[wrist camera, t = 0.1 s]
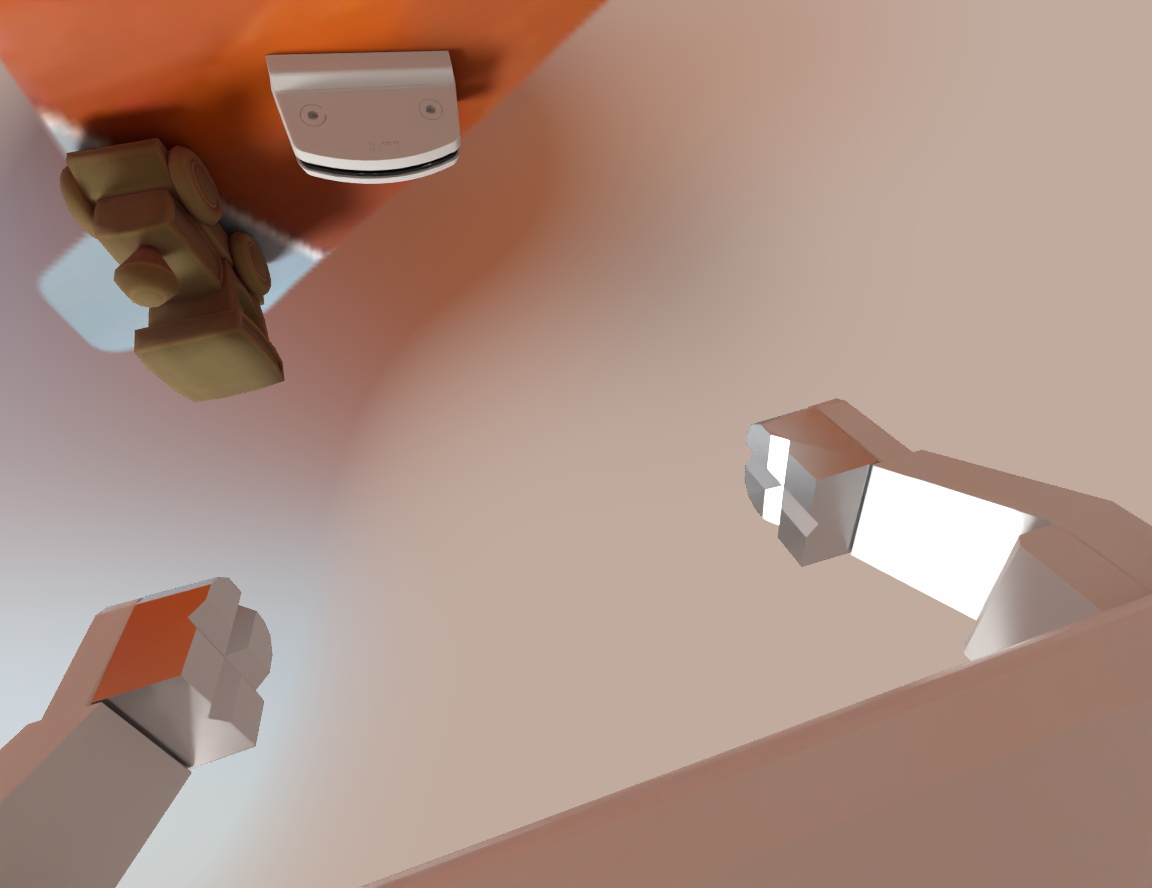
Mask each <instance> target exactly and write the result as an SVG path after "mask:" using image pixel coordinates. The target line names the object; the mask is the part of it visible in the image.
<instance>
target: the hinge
mask: <svg viewBox="0 0 1152 888" xmlns="http://www.w3.org/2000/svg"><path fill="white" fill-rule="evenodd" d="M266 61H267V66H268V71H269V75H270V84H271V91H272V94H273V96H274V99H275V102H276V105H277V107H278V110H279V113H280V115H281V118H282V121H283V124H284V126H285V129H286V132H287V135H288V137H289V140H290V143H291V146H292V148H293V151H294V153H295V156H296V158H297V161H298V163H299V165H300V166H301V167H302V168H303V169H304V171H305V172H306V173H307V174H309V175H311V176H315V177H319V178H323V179H329V180H334V181H340V182H349V183H363V184H378V183H392V182H400V181H406V180H411V179H416V178H420V177H423V176H426V175H430V174H433V173H435V172H438V171H440V170H443V169H445V168H447V167H449V166H452V165H454V164H455V163H456V161H457V159H458V157H459V154H460V143H461V140H460V127H459V116H458V105H457V95H456V84H455V79H454V74H453V69H452V64H451V60H450V56H449V52H448V51H412V52H370V53H327V54H285V55H266Z"/></svg>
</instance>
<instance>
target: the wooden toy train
mask: <svg viewBox="0 0 1152 888" xmlns="http://www.w3.org/2000/svg"><path fill="white" fill-rule="evenodd" d="M66 162H67V165H68V166H66V167H65V168H64V169H63V171H62V173H61V176H60V189H61V192H62V195H63V198H64V200H65V203H66V204H67V207H68V209H69V210H70V212H71V213H72V215H73V217H74V218H75V219H76V221H77V222H78V223H79V224H80V225H81V227H82V228H83V229H84V230H85V231H86V232H87V233H89V234H90V235H91V236H92V237H94V238H96V239H98V240H99V241H100V242H101V243H102V245H103V246H104V247H105V248H106V249H107V251H108V252H109V253H110V254H111V255H112V256H113V258H114V259H115V260H116V261H117V262H118V263H119V264H120V266H119V267H118V268H117V269H116V270H115V274H114V281H115V282H116V284H117V285H118V286H119V288H120V289H121V290H122V291H123V292H124V293H125V294H126V295H127V296H128V297H129V298H130V299H131V300H132V301H133V302H134V303H136V304H138V305H140V306H144V307H149V327H147V328H142V329H138V330H135V346H134V352H135V353H136V354H137V356H138V357H139V358H140V359H141V360H142V361H143V363H144V364H145V365H146V366H147V367H148V368H149V369H150V370H151V371H152V372H153V373H155V374H156V375H157V376H158V377H159V378H160V379H162V380H163V381H164V382H165V383H167V384H168V385H169V386H170V387H172V388H173V389H174V390H175V391H177V392H178V393H180V394H182V395H183V396H185V397H187V398H189V399H191V400H192V401H194V402H198V401H205V400H212V399H219V398H225V397H229V396H233V395H237V394H242V393H246V392H250V391H254V390H258V389H261V388H264V387H267V386H270V385H273V384H276V383H279V382H282V381H284V372H283V364H282V361H281V358H280V357H279V355H278V353H277V351H276V349H275V348H274V346H273V345H272V344H271V342H270V341H269V338H268V333H267V329H266V324H265V319H264V316H263V313H262V310H261V307H260V305H263V304H264V298H263V295H265V294H266V293H268V292H269V289H270V287H271V278H270V273H269V270H268V266H267V264H266V261H265V258H264V256H263V254H262V252H261V250H260V248H259V247H258V245H257V243H256V242H255V241H254V239H253V238H252V237H251V236H249V235H248V234H246V233H243V232H238V231H236V232H234V233H233V234H232V235H231V236H230V238H229V237H228V235H227V234H226V232H225V231H224V230H223V228H222V227H221V225H220V224H219V223H218V221H219V220H220V219H221V217H222V204H221V200H220V196H219V193H218V190H217V188H216V185H215V183H214V181H213V179H212V177H211V175H210V173H209V171H208V169H207V168H206V166H205V164H204V163H203V162H202V160H201V159H200V158H199V156H198V155H197V154H196V153H194V152H193V151H192V150H190V149H188V148H186V147H183V146H179V145H177V146H175V147H173V148H172V149H170V150H169V151H167V149H166V148H165V147H164V145H163V144H162V142H161V141H160V139H159V138H153V139H147V140H141V141H135V142H129V143H123V144H118V145H112V146H106V147H100V148H94V149H88V150H82V151H76V152H70V153H67V158H66Z"/></svg>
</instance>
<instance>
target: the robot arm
mask: <svg viewBox="0 0 1152 888" xmlns="http://www.w3.org/2000/svg"><path fill="white" fill-rule="evenodd" d="M747 446H748V447H749V448H750V449H751V451H752V452H753V453H754V454H753V455H752V457H751V458H750V460H749V461H748V463H747V464H746V465H745V484H746V488H747V491H748V495H749V498H750V500H751V502H752V504H753V506H754V507H755V509H756V510H757V512H758V513H759V514H760V516H761V517H762V518H763V519H765V520H768V521H770V522H772V523H775V524H777V525H779V530H778V531H779V532H778V538H779V539H780V541H781V542H782V543H783V544H784V546H785V547H786V548H787V549H788V551H789V552H790V553H791V554H792V555H793V557H794V558H795V559H796V560H797V561H798V563H799V564H800V565H801V567H802V566H806V565H810V564H813V563H816V562H819V561H823V560H826V559H830V558H833V557H836V556H840V555H843V554H846V553H850V552H851V555H852V556H854V557H856V558H858V559H860V560H862V561H864V562H866V563H868V564H869V565H871V566H873V567H875V568H877V569H879V570H881V571H883V572H885V573H887V574H889V575H890V576H892V577H894V578H896V579H898V580H900V581H902V582H904V583H906V584H908V585H910V586H912V587H913V588H915V589H917V590H919V591H921V592H923V593H925V594H927V595H929V596H931V597H933V598H935V599H936V600H939V601H940V602H942V603H944V604H946V605H948V606H950V607H952V608H954V609H956V610H958V611H960V612H961V613H963V614H965V615H967V616H969V617H971V618H973V619H975V620H976V622H975V624H974V626H973V628H972V630H971V632H970V634H969V636H968V638H967V640H966V642H965V647H964V654H965V655H966V656H967V657H968V658H969V659H970V660H971V661H969V662H967V663H964V664H961V665H958V666H956V667H953V668H950V669H947V670H945V671H942V672H939V673H937V674H934V675H931V676H929V677H926V678H923V679H921V680H918V681H915V682H912V683H910V684H907V685H904V686H901V687H899V688H896V689H893V690H891V691H888V692H885V693H883V694H880V695H877V696H874V697H872V698H869V699H866V700H864V701H861V702H858V703H856V704H853V705H850V706H848V707H845V708H842V709H840V710H837V711H834V712H831V713H829V714H826V715H823V716H821V717H818V718H815V719H813V720H810V721H807V722H805V723H802V724H799V725H796V726H794V727H791V728H788V729H785V730H783V731H780V732H777V733H775V734H772V735H769V736H766V737H764V738H761V739H758V740H756V741H753V742H750V743H748V744H745V745H742V746H739V747H737V748H734V749H731V750H729V751H726V752H723V753H721V754H718V755H715V756H713V757H710V758H707V759H704V760H702V761H699V762H696V763H694V764H691V765H689V766H686V767H683V768H680V769H678V770H675V771H672V772H669V773H667V774H664V775H661V776H659V777H656V778H653V779H650V780H648V781H645V782H642V783H640V784H637V785H634V786H631V787H629V788H626V789H623V790H621V791H618V792H615V793H613V794H610V795H607V796H604V797H602V798H599V799H597V800H594V801H591V802H588V803H586V804H583V805H580V806H577V807H575V808H572V809H569V810H567V811H564V812H561V813H559V814H556V815H553V816H550V817H548V818H545V819H542V820H540V821H537V822H534V823H532V824H529V825H526V826H524V827H521V828H518V829H515V830H513V831H510V832H507V833H505V834H502V835H499V836H496V837H494V838H491V839H489V840H486V841H483V842H480V843H478V844H475V845H472V846H470V847H467V848H464V849H461V850H459V851H456V852H453V853H451V854H448V855H445V856H442V857H440V858H437V859H434V860H432V861H429V862H426V863H424V864H421V865H419V866H416V867H413V868H410V869H407V870H405V871H402V872H399V873H397V874H394V875H391V876H389V877H386V878H383V879H380V880H378V881H375V882H372V883H370V884H367V885H364V886H362V887H359V888H1152V526H1151V525H1149V524H1147V523H1146V522H1144V521H1143V520H1141V519H1140V518H1138V517H1136V516H1135V515H1133V514H1131V513H1130V512H1128V511H1127V510H1125V509H1124V508H1122V507H1120V506H1119V505H1117V504H1116V503H1114V502H1112V501H1109V500H1105V499H1101V498H1098V497H1094V496H1090V495H1086V494H1083V493H1079V492H1076V491H1072V490H1068V489H1065V488H1061V487H1057V486H1053V485H1050V484H1046V483H1042V482H1039V481H1035V480H1031V479H1028V478H1024V477H1020V476H1016V475H1013V474H1009V473H1005V472H1002V471H998V470H994V469H991V468H987V467H983V466H979V465H975V464H972V463H968V462H965V461H961V460H958V459H954V458H950V457H946V456H943V455H939V454H935V453H932V452H928V451H924V450H920V451H916V452H912V451H910V450H909V449H908V448H907V447H905V446H904V445H903V444H901V443H900V442H899V441H897V440H896V439H895V438H893V437H892V436H891V435H889V434H888V433H887V432H886V431H884V430H883V429H881V428H880V427H879V426H878V425H876V424H875V423H874V422H872V421H871V420H870V419H869V418H867V417H866V416H865V415H863V414H862V413H861V412H859V411H858V410H857V409H855V408H854V407H853V406H851V405H850V404H849V403H848V402H846V401H844V400H840V399H833V400H829V401H826V402H823V403H820V404H816V405H813V406H810V407H808V408H807V409H802V410H799V411H795V412H792V413H789V414H785V415H782V416H778V417H775V418H771V419H768V420H765V421H762V422H758V423H755V424H751V426H750V428H749V431H748V433H747ZM240 596H241V591H240V590H239V589H238V588H237V587H236V586H235V584H234V583H233V582H232V581H231V580H230V579H229V578H223V577H217V578H213V579H209V580H206V581H202V582H198V583H194V584H190V585H187V586H183V587H179V588H175V589H171V590H168V591H164V592H160V593H156V594H152V595H149V596H145V597H144V598H140V599H136V600H132V601H129V602H125V603H121V604H117V605H113V606H110V607H107V608H105V609H104V610H103V611H101V612H100V613H99V614H97V615H96V616H95V618H94V620H93V622H92V624H91V625H90V627H89V629H88V631H87V633H86V635H85V637H84V639H83V641H82V643H81V645H80V647H79V649H78V650H77V652H76V654H75V656H74V658H73V660H72V662H71V664H70V666H69V668H68V670H67V672H66V674H65V675H64V678H63V679H62V682H61V683H60V685H59V687H58V689H57V691H56V693H55V695H54V697H53V699H52V701H51V702H50V705H49V706H48V708H47V710H46V712H45V714H44V716H43V718H42V720H40V721H37V722H34V723H31V724H28V725H27V726H25V727H24V728H23V729H22V730H21V731H20V732H19V733H18V734H17V735H16V736H15V737H14V738H13V739H11V740H10V741H9V742H8V743H7V744H6V745H5V746H4V747H3V748H2V749H1V750H0V888H115V887H116V886H117V884H118V883H119V881H120V879H121V878H122V877H123V875H124V874H125V872H126V870H127V869H128V868H129V866H130V865H131V863H132V862H133V860H134V859H135V857H136V856H137V854H138V853H139V851H140V850H141V848H142V846H143V845H144V844H145V842H146V841H147V839H148V838H149V836H150V834H151V833H152V831H153V830H154V829H155V827H156V826H157V824H158V823H159V821H160V819H161V818H162V817H163V815H164V813H165V812H166V811H167V809H168V808H169V806H170V804H171V803H172V802H173V800H174V799H175V797H176V795H177V794H178V793H179V791H180V789H181V788H182V786H183V785H184V783H185V782H186V780H187V779H188V777H189V776H190V774H191V771H190V770H191V769H193V768H196V767H199V766H202V765H204V764H207V763H210V762H213V761H216V760H218V759H221V758H224V757H227V756H229V755H233V754H235V753H238V752H241V751H244V750H246V749H249V748H252V747H255V746H256V741H257V736H258V731H259V725H260V720H261V715H262V710H263V704H264V700H263V699H262V698H261V696H260V695H259V694H258V693H257V692H256V689H257V688H258V687H259V685H260V684H261V683H262V682H263V680H264V679H265V678H266V676H267V675H268V674H269V673H270V666H271V660H272V647H271V638H270V634H269V631H268V629H267V627H266V624H265V622H264V620H263V619H262V618H261V616H260V615H259V614H258V613H257V611H254V610H252V609H249V608H245V607H243V606H239V605H238V603H239V600H240Z"/></svg>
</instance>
